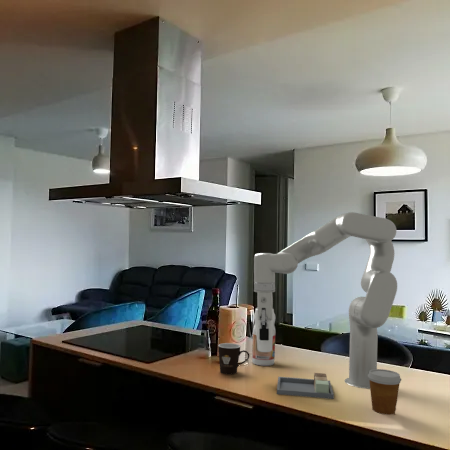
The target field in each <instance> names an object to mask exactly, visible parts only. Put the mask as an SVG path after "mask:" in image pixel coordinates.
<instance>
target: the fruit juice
mask: <svg viewBox="0 0 450 450" xmlns="http://www.w3.org/2000/svg"><path fill="white" fill-rule="evenodd" d="M253 321H254V325H253V328H252V346H251V347H252V349H251V350H252V351H251V352H252V353H251V363H252V364H254V365H257V366H263V367H264V366H273V365H274V364H275V359H276V358H275V357H276V356H275V354H276V326H275V325H274V328H273V341H272V351H271V352H260V351H258V350H257V335H256V324H255V312H254V313H253ZM275 322H276V314H275V312H274V324H275Z"/></svg>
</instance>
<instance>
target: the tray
mask: <svg viewBox="0 0 450 450" xmlns="http://www.w3.org/2000/svg"><path fill="white" fill-rule="evenodd" d="M328 383H329V393H320V392H315V388H314V378H313V379H312V378H300V377H288V376H278V377H277V385H276V395H281V396H284V395H285V396H291V397H292V396H295V397H304V398H316V399H318V398H319V399H326V400H327V399H328V400H333V399H334V398H335V394H334V390H333V387H332V383H331V380H328Z"/></svg>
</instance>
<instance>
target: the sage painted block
mask: <svg viewBox="0 0 450 450" xmlns="http://www.w3.org/2000/svg"><path fill="white" fill-rule="evenodd" d="M328 381H329V380H328ZM328 381H321V380H316V383H315V392H320V393H329V383H328Z"/></svg>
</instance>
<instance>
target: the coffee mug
mask: <svg viewBox="0 0 450 450" xmlns="http://www.w3.org/2000/svg"><path fill="white" fill-rule="evenodd" d="M217 347H218V349H217V350H218V358H219V359H218V360H219V363H218V364H219V372H220V373H221V374H223V375H235V374H237V373H238V367H240V365H243V364H244V363H246V362H247V361H249V359H250V353H249V351H247V350H245V349H244V350H243V349H242V350H241V347H242V346H241V345H240V344H237V343H232V342H225V343H220V344H218V346H217ZM242 353H246V354H247V358H246V359H245V360H244V361H242V362H240V363H239V360H240V356H241V354H242Z"/></svg>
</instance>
